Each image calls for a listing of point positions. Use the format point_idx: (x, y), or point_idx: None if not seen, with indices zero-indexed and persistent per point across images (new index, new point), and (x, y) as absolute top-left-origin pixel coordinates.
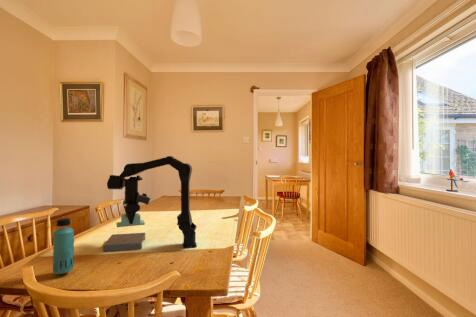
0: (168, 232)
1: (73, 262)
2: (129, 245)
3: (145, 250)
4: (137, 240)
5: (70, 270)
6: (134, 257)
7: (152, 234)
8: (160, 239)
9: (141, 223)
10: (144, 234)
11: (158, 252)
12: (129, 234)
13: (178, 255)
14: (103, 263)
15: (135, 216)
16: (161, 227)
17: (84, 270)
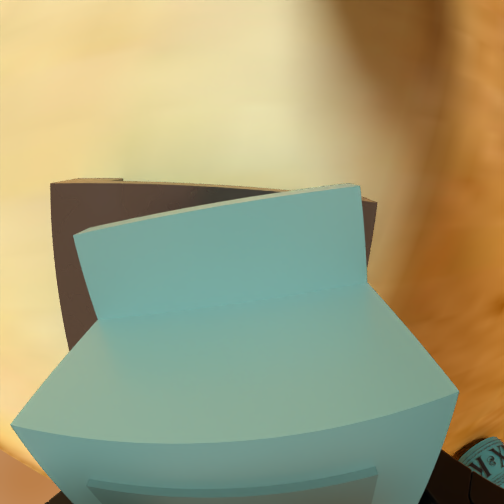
0: (9, 29)
1: (499, 450)
2: None
3: (394, 162)
4: None
5: (495, 437)
6: (479, 237)
7: (9, 135)
8: (143, 45)
9: (365, 255)
10: (105, 183)
11: (451, 82)
12: (87, 321)
13: (498, 6)
14: (470, 371)
15: (419, 478)
16: None
17: (485, 408)
